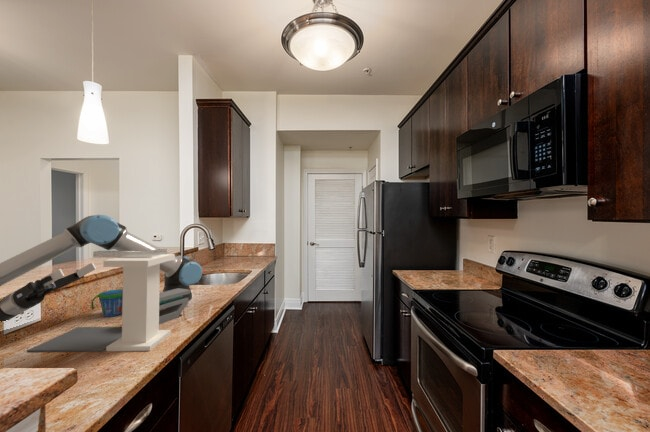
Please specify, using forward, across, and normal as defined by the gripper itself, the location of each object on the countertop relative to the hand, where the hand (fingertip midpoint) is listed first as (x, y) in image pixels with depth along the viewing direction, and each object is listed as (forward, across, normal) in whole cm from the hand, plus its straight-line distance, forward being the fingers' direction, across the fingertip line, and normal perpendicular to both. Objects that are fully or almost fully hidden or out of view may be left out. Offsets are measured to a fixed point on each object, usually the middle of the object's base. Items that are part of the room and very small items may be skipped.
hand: (79, 268), depth 100 cm
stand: (+6, 0, -33) cm, 34 cm away
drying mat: (-11, -3, -23) cm, 26 cm away
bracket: (+16, -3, -4) cm, 17 cm away
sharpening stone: (+1, -22, -31) cm, 38 cm away
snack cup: (-20, -30, -18) cm, 41 cm away
